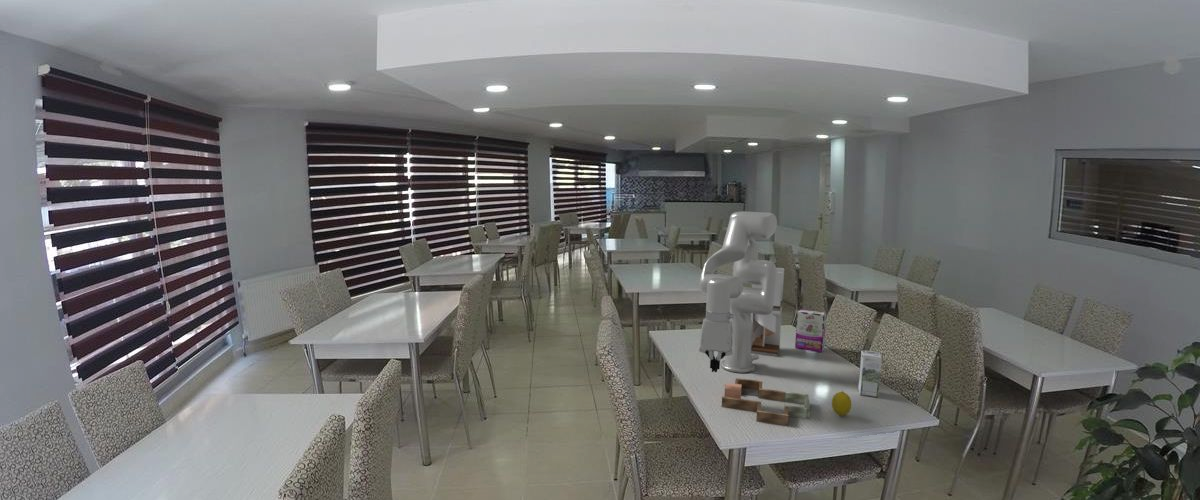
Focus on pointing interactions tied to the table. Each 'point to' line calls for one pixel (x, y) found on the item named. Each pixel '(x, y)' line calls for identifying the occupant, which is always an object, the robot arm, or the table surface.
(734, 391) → the block
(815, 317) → the candy bar box
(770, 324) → the display case
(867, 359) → the syrup box
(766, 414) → the wooden zigzag frame
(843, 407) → the lemon
